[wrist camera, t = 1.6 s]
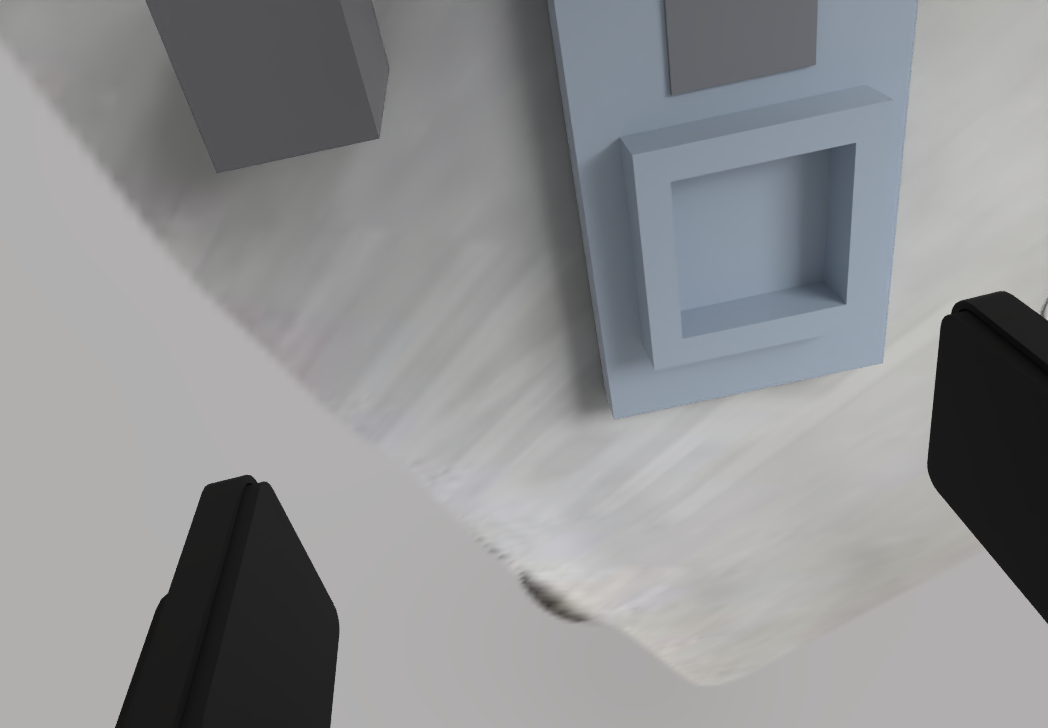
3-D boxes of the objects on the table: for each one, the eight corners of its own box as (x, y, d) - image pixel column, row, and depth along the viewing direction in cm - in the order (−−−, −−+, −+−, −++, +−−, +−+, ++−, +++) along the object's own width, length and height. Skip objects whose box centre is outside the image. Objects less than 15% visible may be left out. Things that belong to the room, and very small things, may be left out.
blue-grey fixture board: (508, -262, 23) (522, -281, 20) (913, -350, 23) (998, -384, 19) (605, 393, 36) (624, 448, 33) (861, 339, 36) (906, 389, 33)
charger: (217, -44, 25) (143, -5, 18) (351, -74, 25) (327, -45, 18) (267, 98, 28) (219, 178, 21) (390, 72, 28) (381, 143, 21)
